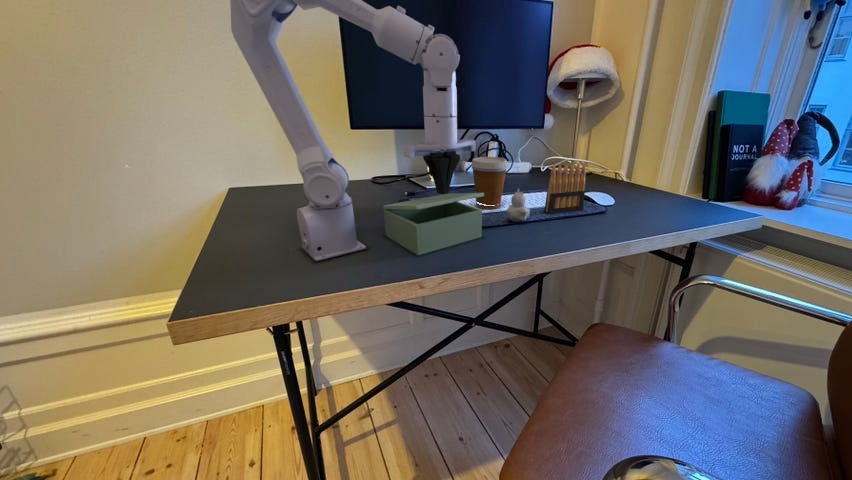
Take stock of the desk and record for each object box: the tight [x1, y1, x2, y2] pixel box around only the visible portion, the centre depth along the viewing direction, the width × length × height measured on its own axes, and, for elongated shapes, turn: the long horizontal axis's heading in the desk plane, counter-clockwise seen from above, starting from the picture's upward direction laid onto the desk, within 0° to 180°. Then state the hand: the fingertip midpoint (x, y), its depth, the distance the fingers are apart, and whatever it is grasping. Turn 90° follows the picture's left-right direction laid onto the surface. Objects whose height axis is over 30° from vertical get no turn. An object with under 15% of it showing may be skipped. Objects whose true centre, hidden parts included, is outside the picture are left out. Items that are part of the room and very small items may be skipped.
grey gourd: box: [506, 187, 531, 223], centre depth 85 cm, size 5×7×8 cm
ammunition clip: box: [544, 162, 587, 215], centre depth 93 cm, size 11×2×12 cm, turn 112°
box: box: [383, 201, 483, 256], centre depth 76 cm, size 13×16×6 cm
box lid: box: [382, 192, 484, 210], centre depth 73 cm, size 13×16×1 cm
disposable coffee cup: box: [470, 156, 509, 210], centre depth 95 cm, size 10×10×12 cm
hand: (442, 193), depth 70 cm, fingers closed
